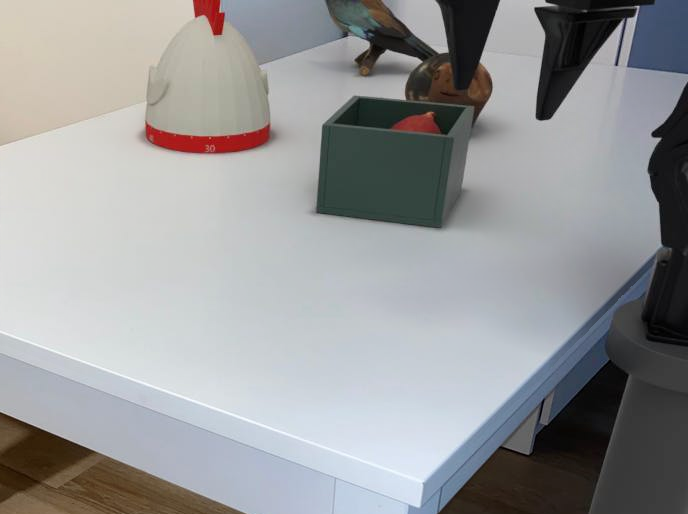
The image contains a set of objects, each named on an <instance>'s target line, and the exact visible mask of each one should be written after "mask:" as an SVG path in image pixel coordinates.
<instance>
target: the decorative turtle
mask: <svg viewBox="0 0 688 514" xmlns="http://www.w3.org/2000/svg"><path fill="white" fill-rule="evenodd" d="M493 85H494V84H493V79H492V76H491V74H490V72H489V70H487V68H486V67H485V65H483V64H482V62H481V61H480V62H479V65H478V68H477V70H476V73H475V75H474V78H473V80H472V82H471V85H470V87H469V89H467V90H462V91H458V90H455V89H454V84H453V78H452V71H451V65H450V58H449V52H448V51H447V52H441V53H439V54H437V55H434V56H432V57H430V58H428V59H426V60H425V61H421V63H420V64H418V65H417V66H416V67H415V68H414V69H413V70H412V71H411V73H410V74H409V76H408V78H407V80H406V83H405V86H404V97H405V100H411V101H422V102H433V103H444V104H455V105H466V106H474V113H473V120H472V126H471V130H472V129H473V128H474V126H475V124H476V122H477V120H478V118H479V116H480V114H481V113H482V111H483V110H484V108H485V106H486V104H487V103H488V102H489V100H490V98H491V96H492V94H493V89H494V86H493Z"/></svg>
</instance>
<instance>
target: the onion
mask: <svg viewBox="0 0 688 514" xmlns="http://www.w3.org/2000/svg"><path fill="white" fill-rule="evenodd" d="M434 117H435V113H434V112H428V113H426V114H424V115H415V116H410V117H408V118H405V119H404V120H402V121H400V122H398V123H397V124H395V125H394V126H393V127H392V128H390V129H392V130H402V131H412V132H422V133H432V134H441V132H440V130H439V128H438V126H437V125H436V124H435V122H434V121H433V120H434Z"/></svg>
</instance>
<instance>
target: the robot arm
mask: <svg viewBox="0 0 688 514" xmlns="http://www.w3.org/2000/svg"><path fill="white" fill-rule="evenodd" d="M434 1H435V2H436V4H438V6H439V8H440V12H441V13H440V14H441V17H442V21H443V26H444V32H445V38H446V45H447V52H449V58H450V65H451V71H452V78H453V84H454V89H455V90H458V91H462V90H467V89H469V87H470V85H471V82H472V80H473V78H474V75H475V73H476V70H477V68H478V65H479V62H480V63H481V59H482V56H483V53H484V50H485V47H486V44H487V41H488V38H489V35H490V33H491V29H492V26H493V23H494V20H495V17H496V14H497V11H498V9H499V6H500V2H501V0H434ZM544 1H545V3H546V4H549V5H544V6H534V8H533V11H534V13H535V15H536V17H537V19H538V22H539V24H540V26H541V28H542V30H543V33H544V41H543V42H544V44H543V50H542V55H541V56H542V57H541V64H540V71H539V78H538V85H537V92H536V98H535V99H536V100H535V102H536V103H535V119H536V120H537V121H540V122H543V121H550V120H551V119H552V118H553V117H554V115H555V114H556V112H557V111H558V110H559V108H560V107H561V105H562V104H563V102H564V101H565V99H566V98H567V96H568V95H569V93H570V92H571V91H572V89H573V88H574V86H575V84H576V83H577V81H579V79H580V78H581V76H582V74H583V73H584V71H585V70H586V68H587V67H588V66H589V65H590V63H591V61H592V60H593V59H594V57H595V56H596V54H597V53H598V52H599V51H600V49H601V48H602V47H603V45H605V43H606V42H607V41H608V40H609V38H610V37H611V36H612V35H613V34H614V32H615V31H616V30H617V29H618V27H619V26H620V25H621V24H622V22H623V21H624V19H633V18H635V17H636V15H637V12H638V10H639V9H638V7H642V6H643V7H644V6H654V5H655V4H656V0H544ZM650 136H651V138H654V139H659V141H658V142H657V143H656V145H655V146H654V148H653V150H652V152H651V154H650V157H649V159H648V160H649V161H648V164H647V169H646V170H647V171H646V172H647V174H648V176H649V183H650V189H651V191H652V193H653V196H654V198H655V199H656V202H657V203H658V214H659V229H660V231H659V232H660V243H661V246H662V247H661V248H660V249H658V250H657V251H656V253H655V257H654V260H653V264H652V268H651V271H650V275H649V278H648V282H647V285H646V289H645V293H644V295H643V298H644V299H643V303H642V310H641V319H642V320H643V322H646V335H645V338H646V339H647V340H649V341H652V342H658V343H665V344H672V345H678V346H685V347H688V81H687V82H686V84H685V85H684V87H683V89H682V91H681V93H680V95H679V99H678V100H677V102H676V104H675V106H674V108H673V110H672V112H671V113H670V115H669V116H668V117H667V118H666V119H665V121H663V123H662V124H660V125H659V126H658V127H657V128H655V129H654V130H653V131H651V134H650Z"/></svg>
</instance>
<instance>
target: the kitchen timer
mask: <svg viewBox="0 0 688 514" xmlns="http://www.w3.org/2000/svg"><path fill="white" fill-rule="evenodd" d="M221 1H222V0H192V4H193V5H192V7H193V13H194V14H193V15H194V18H192V19H191V20H189V21H188V22H187V23H186V24H184V25H183V26H182V27H180V29H179V30H178V31H177V32H176V33H175V35H174V36H173V37H172V38H171V40H170V41H169V43H168V44H167V46H166V48H165V49H164V51H163V52H162V54H161V57H160V59H159V61H158V63H157V66H153V65H150V66H149V71H148V79H147V85H146V96H145V97H146V107H145V118H144V121H145V123H144V125H145V128H144V129H145V136H146V140H147V141H149V142H150V143H152V144H153V145H155V146H157V147H158V146H159V147H162V148H164V149H167V150H174V151H179V152H185V153H197V154H198V153H199V154H217V153H218V154H220V153H221V154H222V153H231V152H233V153H234V152H240V151H245V150H249V149H254V148H257V147H259V146H262V145H264V144H265V143H267V142H268V141H269V140H270V136H271V109H270V102H269V97H268V95H269V93H270V92H269V91H270V90H269V80H268V71H267V69H263V70H261V67H260V64H259V62H258V60H257V57H256V56H255V53H254V52H253V50H252V48H251V47H250V45H249V43H248V42H247V41H246V39H245V38H244V36H243V35H242V34H241V32H239V31H238V30H237V29H236V28H235V26H234V25H232V24H231V23H229V22H228V21H227V20H225V18H226V12H223V11H222V12H221Z"/></svg>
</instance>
